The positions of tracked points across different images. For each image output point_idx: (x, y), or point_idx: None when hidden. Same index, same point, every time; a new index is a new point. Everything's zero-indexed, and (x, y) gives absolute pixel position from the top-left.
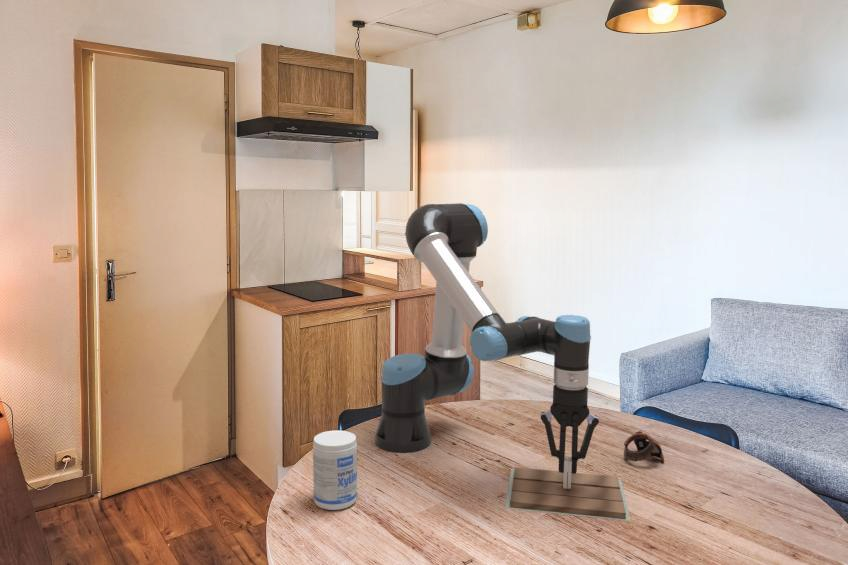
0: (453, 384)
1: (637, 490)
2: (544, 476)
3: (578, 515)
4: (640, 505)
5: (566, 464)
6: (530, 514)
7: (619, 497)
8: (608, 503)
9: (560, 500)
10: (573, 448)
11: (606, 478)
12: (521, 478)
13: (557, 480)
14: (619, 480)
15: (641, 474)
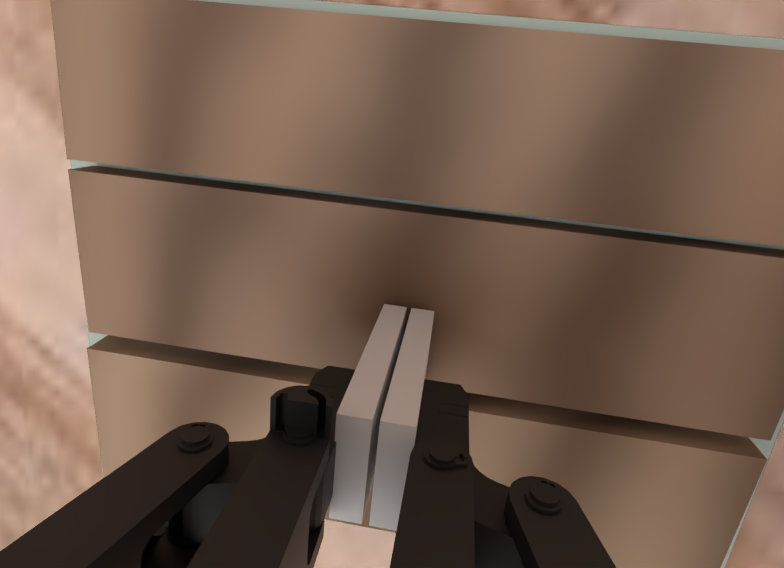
0: None
1: (32, 379)
2: (533, 473)
3: (373, 6)
4: (14, 215)
5: (396, 402)
6: (723, 3)
7: (90, 219)
8: (156, 124)
9: (482, 130)
10: (271, 529)
11: None
12: (706, 447)
13: None
14: None
15: (18, 532)
